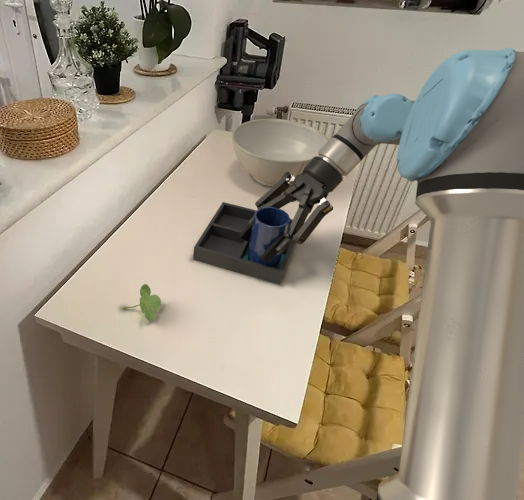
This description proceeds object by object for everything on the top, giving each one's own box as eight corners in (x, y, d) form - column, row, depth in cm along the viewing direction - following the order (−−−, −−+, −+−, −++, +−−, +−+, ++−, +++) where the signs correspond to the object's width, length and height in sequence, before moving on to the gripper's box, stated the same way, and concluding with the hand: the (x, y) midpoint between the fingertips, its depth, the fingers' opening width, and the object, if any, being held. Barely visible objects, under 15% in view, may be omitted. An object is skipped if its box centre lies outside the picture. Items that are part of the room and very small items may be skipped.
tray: (280, 285, 92) (283, 273, 89) (193, 259, 98) (193, 247, 95) (298, 233, 106) (301, 221, 103) (221, 213, 112) (222, 201, 109)
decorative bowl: (327, 204, 116) (338, 164, 108) (227, 197, 117) (232, 157, 110) (312, 157, 136) (321, 121, 128) (228, 152, 138) (232, 115, 130)
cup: (287, 262, 94) (297, 221, 87) (260, 271, 92) (268, 230, 85) (267, 243, 99) (275, 203, 92) (241, 251, 97) (247, 211, 90)
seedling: (139, 325, 89) (165, 318, 86) (115, 328, 82) (143, 321, 79) (132, 291, 90) (158, 283, 87) (108, 292, 83) (135, 283, 80)
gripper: (373, 199, 83) (290, 284, 88) (305, 154, 97) (236, 230, 101) (361, 181, 78) (273, 272, 82) (291, 136, 91) (219, 217, 96)
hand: (253, 249), depth 92 cm, fingers closed on cup, 7 cm apart
